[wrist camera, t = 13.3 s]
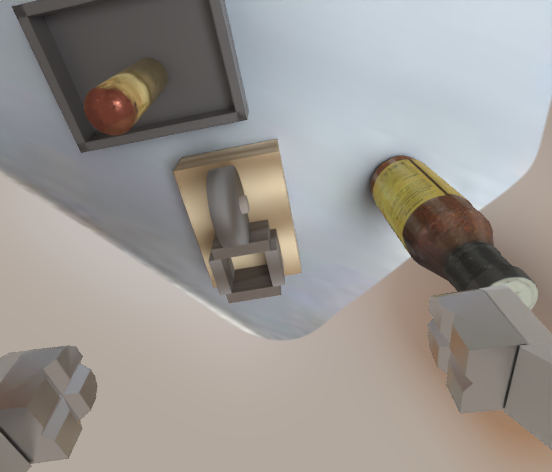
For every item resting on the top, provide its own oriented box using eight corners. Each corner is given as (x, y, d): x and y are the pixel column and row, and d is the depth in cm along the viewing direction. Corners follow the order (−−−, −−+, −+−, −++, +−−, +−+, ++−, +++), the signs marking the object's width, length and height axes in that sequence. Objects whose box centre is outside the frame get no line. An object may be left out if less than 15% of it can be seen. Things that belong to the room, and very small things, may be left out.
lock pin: (127, 61, 32) (74, 92, 22) (161, 54, 32) (122, 80, 22) (141, 97, 34) (97, 139, 24) (173, 89, 34) (142, 129, 24)
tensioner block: (180, 152, 38) (150, 198, 28) (276, 134, 37) (279, 174, 27) (217, 266, 45) (204, 333, 35) (298, 252, 44) (307, 317, 35)
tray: (96, 141, 37) (81, 152, 34) (36, 7, 31) (11, 6, 28) (248, 110, 36) (247, 119, 33) (216, -35, 30) (210, -41, 27)
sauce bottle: (363, 205, 41) (431, 340, 24) (374, 151, 38) (461, 261, 21) (421, 208, 41) (528, 342, 24) (436, 154, 38) (573, 265, 21)
